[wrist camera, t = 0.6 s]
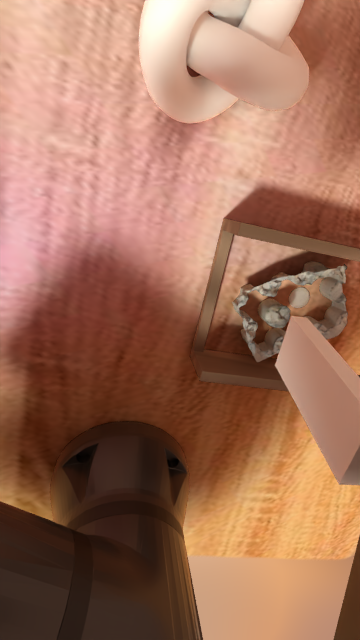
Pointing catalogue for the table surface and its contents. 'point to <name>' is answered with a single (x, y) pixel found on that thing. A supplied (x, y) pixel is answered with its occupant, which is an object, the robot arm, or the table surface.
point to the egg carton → (298, 298)
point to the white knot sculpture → (221, 56)
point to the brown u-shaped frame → (205, 361)
